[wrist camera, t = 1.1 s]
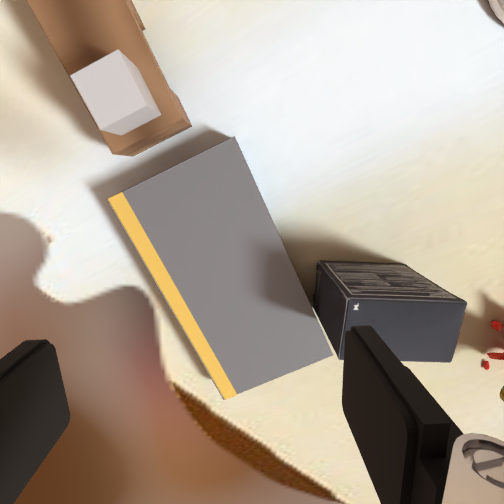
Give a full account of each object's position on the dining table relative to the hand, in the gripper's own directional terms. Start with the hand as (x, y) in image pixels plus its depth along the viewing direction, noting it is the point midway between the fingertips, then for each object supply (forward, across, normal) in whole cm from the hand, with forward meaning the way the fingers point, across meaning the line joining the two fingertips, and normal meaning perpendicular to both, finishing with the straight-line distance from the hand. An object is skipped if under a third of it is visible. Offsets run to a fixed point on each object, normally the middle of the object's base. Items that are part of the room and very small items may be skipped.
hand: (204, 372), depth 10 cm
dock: (+25, +1, +5) cm, 26 cm away
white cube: (+20, +8, -12) cm, 25 cm away
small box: (+25, -14, +8) cm, 30 cm away
